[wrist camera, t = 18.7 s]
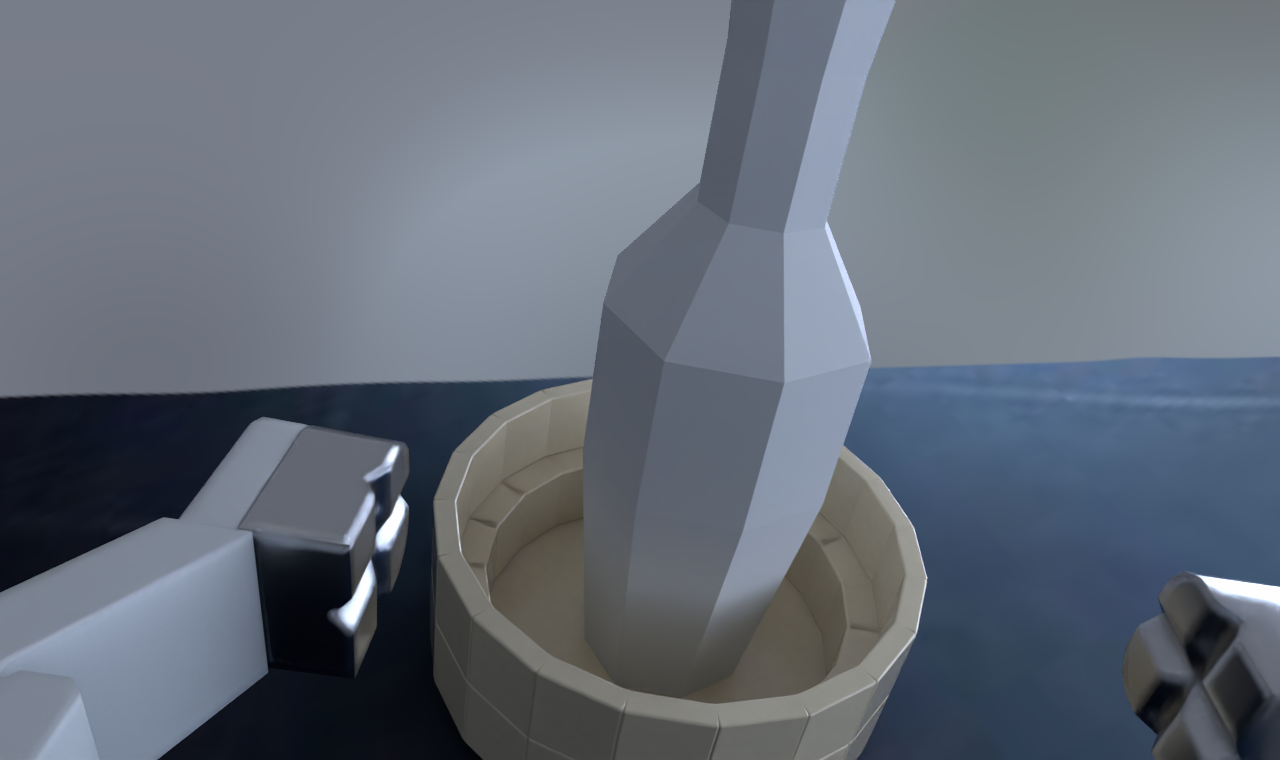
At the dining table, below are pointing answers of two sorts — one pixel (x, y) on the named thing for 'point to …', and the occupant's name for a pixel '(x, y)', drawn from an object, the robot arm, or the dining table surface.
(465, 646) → the bowl
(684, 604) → the faceted bottle
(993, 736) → the dining table surface
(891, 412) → the dining table surface
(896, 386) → the dining table surface
